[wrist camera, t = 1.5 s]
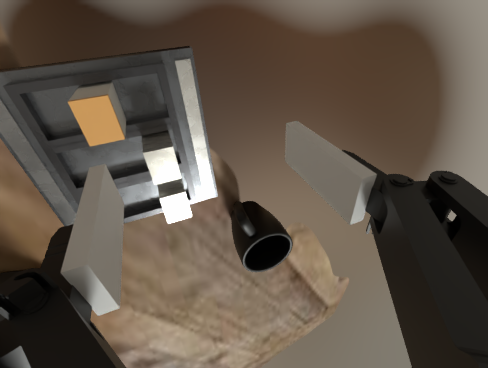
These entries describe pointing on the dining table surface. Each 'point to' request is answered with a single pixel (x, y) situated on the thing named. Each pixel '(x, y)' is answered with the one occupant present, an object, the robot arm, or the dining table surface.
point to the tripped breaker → (99, 113)
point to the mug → (258, 237)
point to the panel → (118, 152)
